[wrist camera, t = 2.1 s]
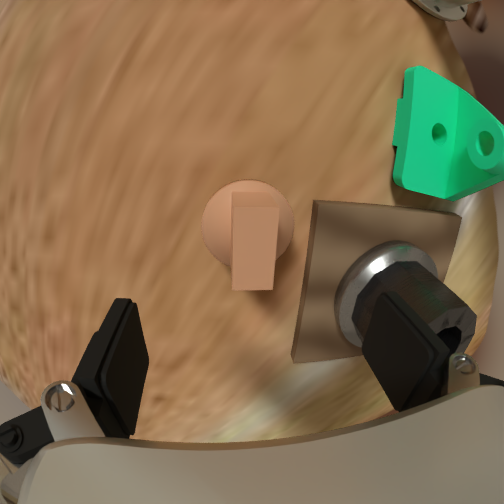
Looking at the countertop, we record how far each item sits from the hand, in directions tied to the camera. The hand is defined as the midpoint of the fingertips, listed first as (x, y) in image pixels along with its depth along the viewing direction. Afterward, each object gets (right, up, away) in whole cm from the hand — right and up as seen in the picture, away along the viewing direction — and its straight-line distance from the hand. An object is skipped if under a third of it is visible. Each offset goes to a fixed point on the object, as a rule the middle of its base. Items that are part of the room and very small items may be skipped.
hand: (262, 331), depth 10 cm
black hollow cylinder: (+14, -1, +17) cm, 22 cm away
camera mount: (+17, +15, +12) cm, 25 cm away
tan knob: (-1, +7, +13) cm, 15 cm away
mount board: (+13, -1, +18) cm, 23 cm away
